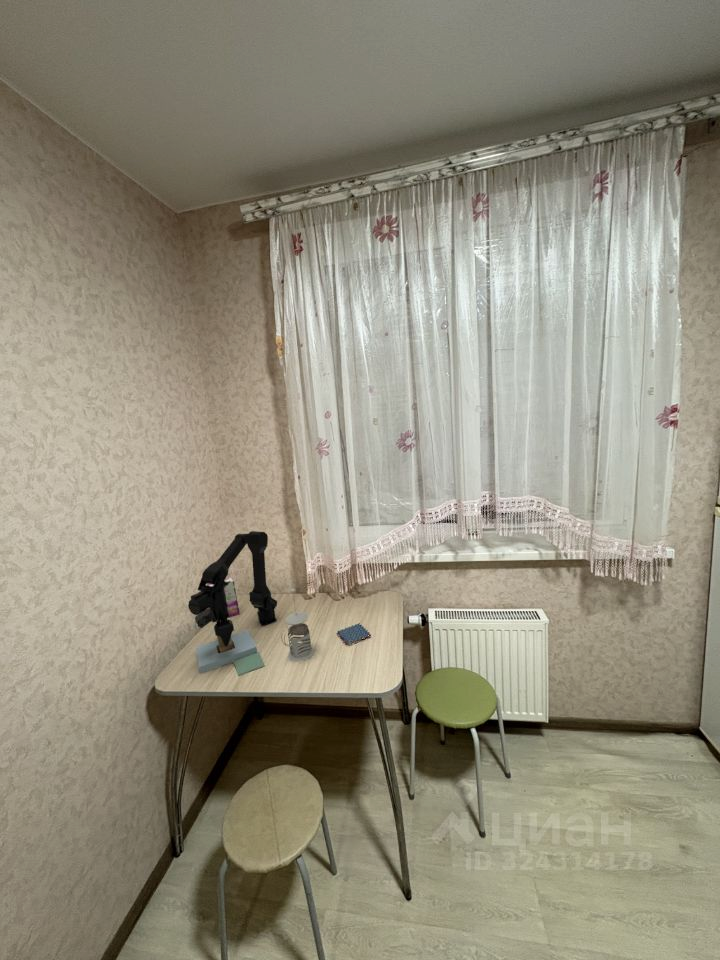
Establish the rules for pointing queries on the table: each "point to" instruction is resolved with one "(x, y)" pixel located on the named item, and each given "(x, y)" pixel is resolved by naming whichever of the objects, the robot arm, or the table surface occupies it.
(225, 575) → the robot arm
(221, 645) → the walnut block
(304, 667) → the table surface
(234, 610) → the candy bar box
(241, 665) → the green pad
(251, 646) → the pocket board
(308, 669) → the table surface
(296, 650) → the french press
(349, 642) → the woven mat
